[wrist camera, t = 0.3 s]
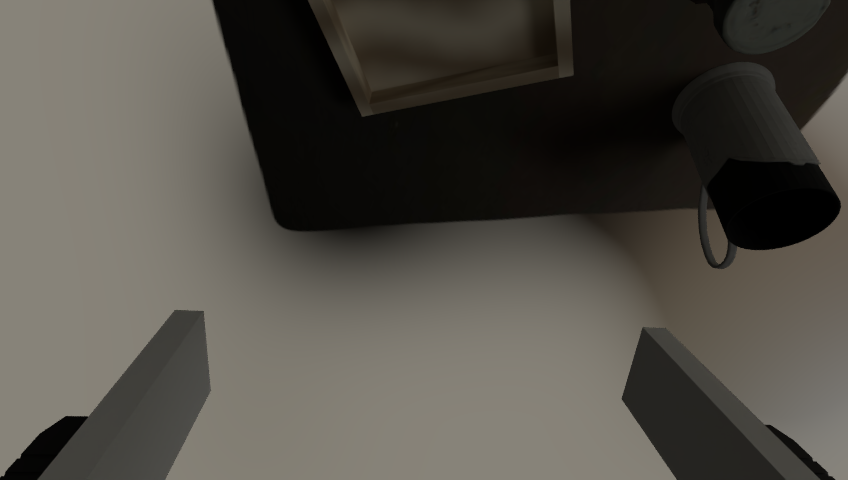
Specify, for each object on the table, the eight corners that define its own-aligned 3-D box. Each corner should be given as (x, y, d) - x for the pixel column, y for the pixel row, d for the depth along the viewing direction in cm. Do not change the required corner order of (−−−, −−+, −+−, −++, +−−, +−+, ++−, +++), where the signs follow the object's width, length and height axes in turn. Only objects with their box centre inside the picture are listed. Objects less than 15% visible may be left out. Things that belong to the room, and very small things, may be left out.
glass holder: (795, 63, 42) (882, 183, 33) (719, 178, 53) (768, 291, 44) (694, 60, 43) (752, 177, 34) (639, 174, 54) (671, 286, 45)
